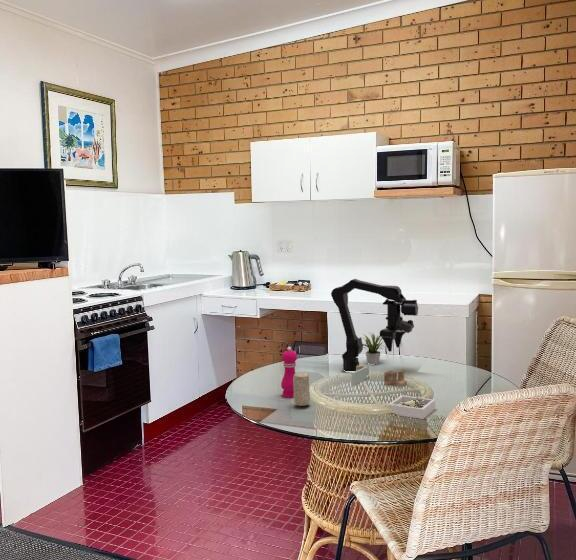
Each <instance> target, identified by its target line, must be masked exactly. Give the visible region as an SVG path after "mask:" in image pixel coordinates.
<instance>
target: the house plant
mask: <svg viewBox="0 0 576 560" xmlns="http://www.w3.org/2000/svg"><path fill="white" fill-rule="evenodd" d="M362 334H363V333H362ZM369 334H370V336H371V339H372V342H371V339H370V338H369V337H368V336H367V335H366V334H363V336H364V337H365V338H364V337H362V339H363V340H364V341H365V343H363V345H364V346H363V349H366V350H367V351H365V356H366V362H367V364H368V363H369V364H378V363H380V357H381V351H378V350H379V349H380V347H381V346H382V344H383V343H384V341H383V342H381V341H382V340H383V339H382V338H381V336H380V334H378V335H377V336H376V335H375V334H374V333H373V332H371V333H369ZM381 349H383V350H384V348H383V347H381ZM378 365H379V364H378Z"/></svg>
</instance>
